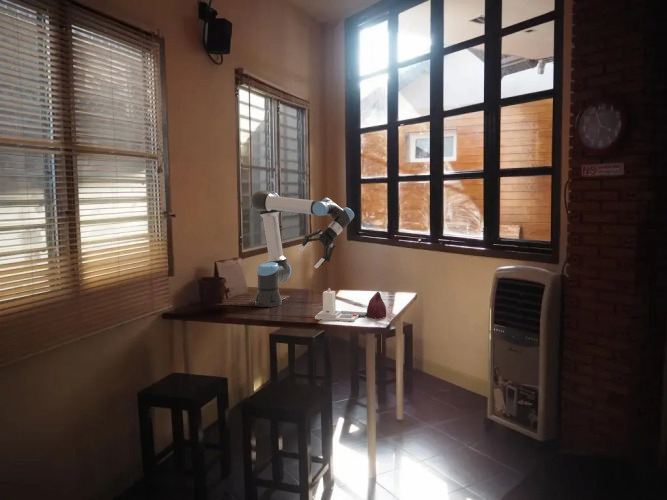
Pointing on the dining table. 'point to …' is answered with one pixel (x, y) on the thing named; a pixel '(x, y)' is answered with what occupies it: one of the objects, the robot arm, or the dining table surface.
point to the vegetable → (376, 307)
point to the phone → (361, 314)
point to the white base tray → (337, 316)
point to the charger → (329, 302)
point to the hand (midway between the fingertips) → (307, 259)
